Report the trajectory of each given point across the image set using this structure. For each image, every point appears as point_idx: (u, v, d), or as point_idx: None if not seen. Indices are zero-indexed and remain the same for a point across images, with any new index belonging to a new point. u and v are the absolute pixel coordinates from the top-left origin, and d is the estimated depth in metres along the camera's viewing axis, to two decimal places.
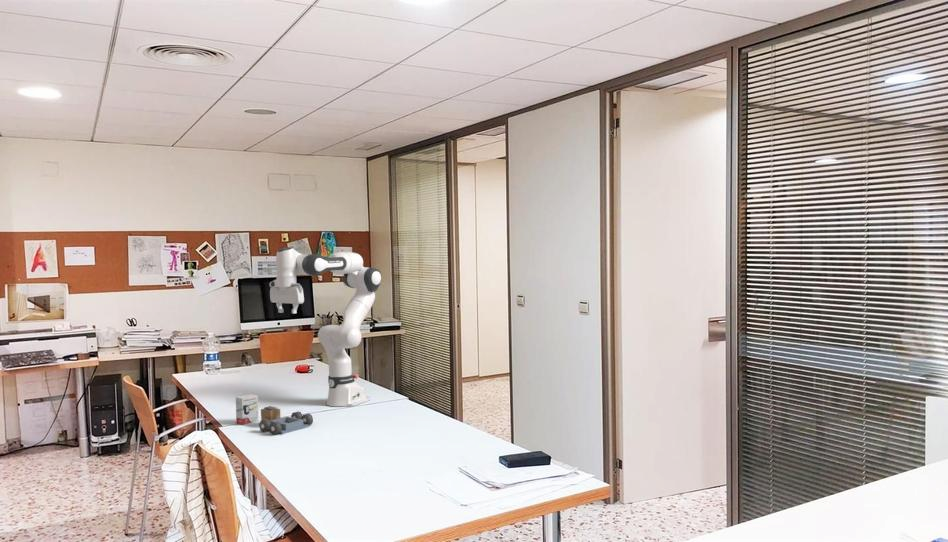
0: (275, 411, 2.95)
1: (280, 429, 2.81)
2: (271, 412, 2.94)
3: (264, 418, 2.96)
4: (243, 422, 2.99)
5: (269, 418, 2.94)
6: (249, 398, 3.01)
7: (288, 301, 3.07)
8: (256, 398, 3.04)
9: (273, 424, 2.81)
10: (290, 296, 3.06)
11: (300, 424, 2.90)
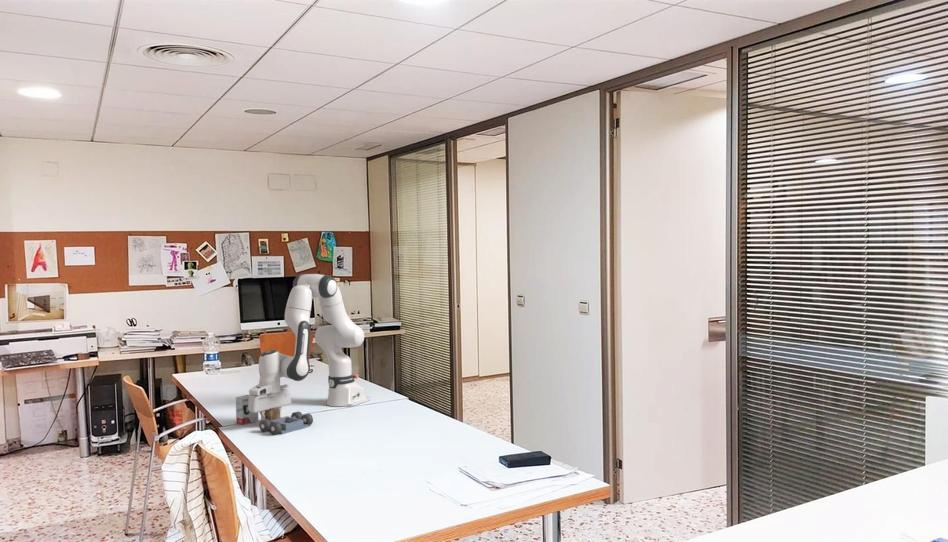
0: (275, 411, 2.95)
1: (280, 429, 2.81)
2: (271, 412, 2.94)
3: None
4: (243, 422, 2.99)
5: (269, 418, 2.94)
6: None
7: (279, 405, 2.99)
8: None
9: (273, 424, 2.81)
10: (281, 399, 3.00)
11: (300, 424, 2.90)
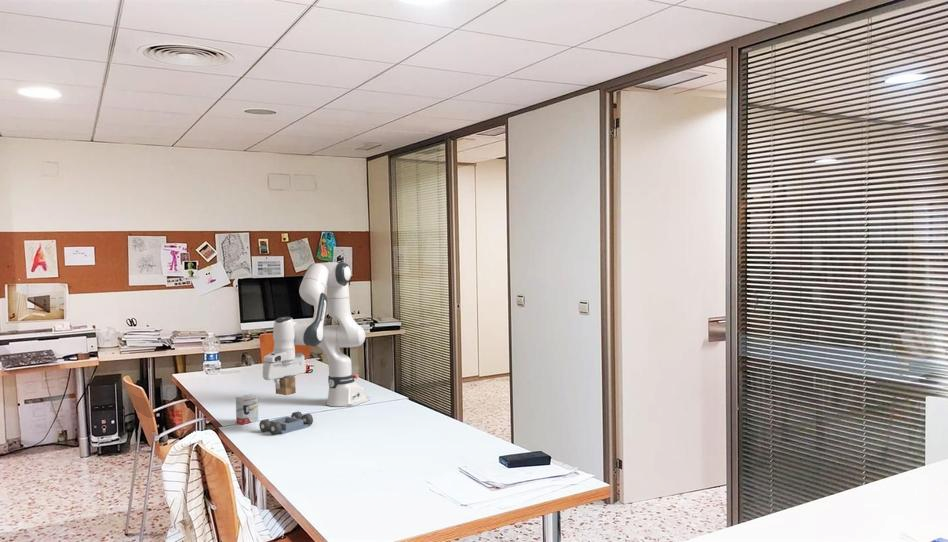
0: (290, 379, 2.88)
1: (280, 429, 2.81)
2: (286, 380, 2.87)
3: None
4: (243, 422, 2.99)
5: (284, 386, 2.87)
6: (249, 398, 3.01)
7: (294, 373, 2.92)
8: (256, 398, 3.04)
9: (273, 424, 2.81)
10: (296, 367, 2.93)
11: (300, 424, 2.90)
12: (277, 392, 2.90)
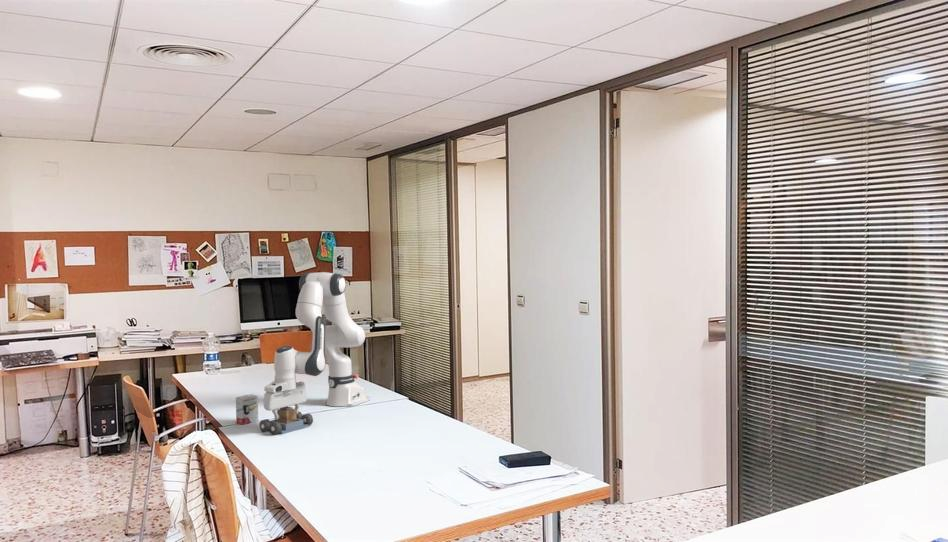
0: (291, 411, 2.89)
1: (280, 429, 2.81)
2: (287, 412, 2.87)
3: (280, 418, 2.90)
4: (243, 422, 2.99)
5: (285, 418, 2.88)
6: (249, 398, 3.01)
7: (294, 402, 2.92)
8: (256, 398, 3.04)
9: (273, 424, 2.81)
10: (297, 396, 2.93)
11: (300, 424, 2.90)
12: None
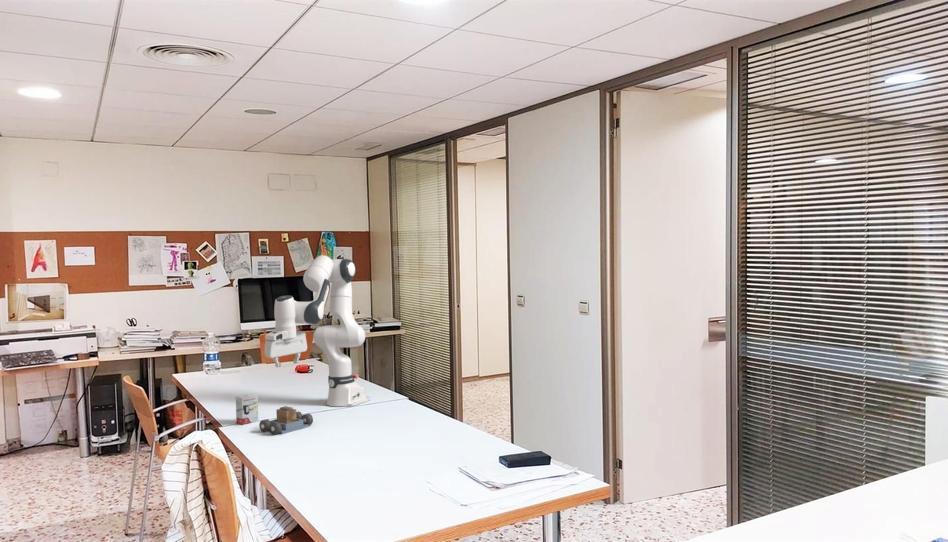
0: (291, 411, 2.89)
1: (280, 429, 2.81)
2: (287, 412, 2.87)
3: (280, 418, 2.90)
4: (243, 422, 2.99)
5: (285, 418, 2.88)
6: (249, 398, 3.01)
7: (295, 351, 2.95)
8: (256, 398, 3.04)
9: (273, 424, 2.81)
10: (297, 345, 2.96)
11: (300, 424, 2.90)
12: None
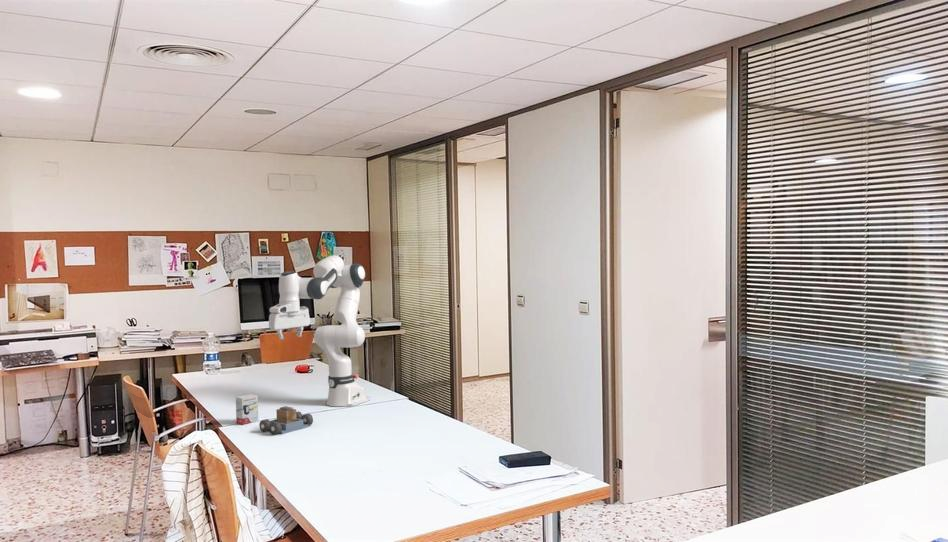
0: (291, 411, 2.89)
1: (280, 429, 2.81)
2: (287, 412, 2.87)
3: (280, 418, 2.90)
4: (243, 422, 2.99)
5: (285, 418, 2.88)
6: (249, 398, 3.01)
7: (298, 325, 3.06)
8: (256, 398, 3.04)
9: (273, 424, 2.81)
10: (301, 319, 3.07)
11: (300, 424, 2.90)
12: None
